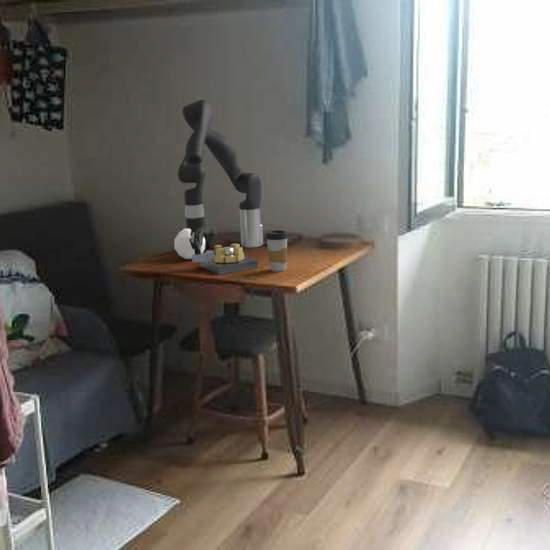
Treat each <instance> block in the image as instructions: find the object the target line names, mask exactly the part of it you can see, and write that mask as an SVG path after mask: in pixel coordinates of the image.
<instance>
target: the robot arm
mask: <svg viewBox="0 0 550 550" xmlns="http://www.w3.org/2000/svg"><path fill="white" fill-rule="evenodd" d="M213 112H214V111H213V108H212V105H211V104H210V102H209V101H208V100H206V99H199V100H196V101H194V102H192V103H189V104H187V105H185V106H184V107H183V108H182V115H183V118H184V120H185V121H186V123H187V125H188V126H189V127H190V129H192V130H193V132H192V133H191V135H190V136H189V138H188V140H187V142H186V147H185V152H184V157H183V159H182V161H181V164H180V165H179V168H178V170H177V178H178V180H179V181H180V183H182V184H195V187H192V188H188V189H186V190H184V192H183V193H184V194H183V195H184V196H183V197H184V216H185V226H186V228H188V229H191V233H190V237H191V238H189V241H190V244H191V247H192V249H194V252H195V254H200V253H201V249H200V248H201V246H202V242H203V237H204V234H205V233H204V232H203V231H202V229H203V228H205V226H206V219H205V217H206V216H205V207H204V198H203V189H204V183H205V179H206V169H205V167H204V165H203V164H202V162H203V158H204V150H205V149H204V148H205V146H206V147H207V148H208V150H209V151H210V153H211V154H212V156H213V158H215V159H216V160H217V162H218V164H219V165H220V166H221V168H222V169H223V171H224V172H225V173H226V175H227V177H228V178H229V181H230V183H232V185H233V187H234V189H235V190H236V191H237V192H238V193H241V194H245V199H244V200H243V201H241V202H239V204H238V207H239V226H240V227H239V228H240V245H241V246H240V247H243V248H258V247H261V246H263V245H264V232H263V231H264V230H263V229H264V228H263V224H262V223H261V210H260V209H261V208H260V206H261V200H262V182H261V178H260V176H259V175H258V174H257V173H255V172H244V171H243V169H241V167H240V166H239V165H238V163H237V151H236V149H235V146H234V145H233V144H232V143H231V141H230V140H229V139H228V138H227V137H226V136H225V135H224V134H222V133H220V132H217V131H215V130H213V129H212V128H210V126H211V123H212V119H213V114H214V113H213ZM262 244H263V245H262Z"/></svg>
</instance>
